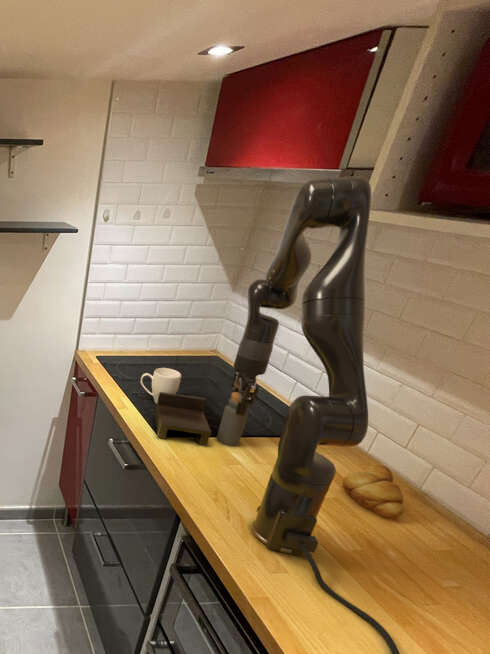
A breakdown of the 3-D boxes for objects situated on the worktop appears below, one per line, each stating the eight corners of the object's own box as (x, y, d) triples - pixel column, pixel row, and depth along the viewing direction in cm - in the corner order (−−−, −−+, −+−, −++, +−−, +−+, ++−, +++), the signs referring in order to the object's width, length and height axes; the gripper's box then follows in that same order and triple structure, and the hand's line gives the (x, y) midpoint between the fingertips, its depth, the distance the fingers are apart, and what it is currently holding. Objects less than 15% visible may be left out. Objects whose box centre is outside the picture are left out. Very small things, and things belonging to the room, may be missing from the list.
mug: (173, 400, 155) (180, 369, 150) (175, 410, 148) (182, 379, 143) (137, 394, 159) (142, 364, 154) (136, 403, 152) (142, 373, 147)
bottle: (242, 447, 127) (256, 401, 122) (220, 445, 129) (233, 398, 123) (234, 437, 133) (248, 391, 127) (213, 434, 134) (226, 389, 128)
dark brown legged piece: (207, 447, 127) (215, 419, 124) (158, 439, 131) (164, 412, 127) (198, 424, 139) (205, 398, 136) (153, 417, 143) (159, 391, 139)
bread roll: (411, 525, 99) (427, 496, 96) (361, 518, 101) (375, 489, 98) (375, 489, 111) (388, 462, 108) (331, 483, 113) (342, 456, 110)
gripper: (231, 344, 127) (216, 396, 134) (245, 362, 115) (228, 419, 121) (261, 347, 125) (244, 400, 132) (278, 365, 113) (259, 423, 119)
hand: (237, 409), depth 127 cm, fingers closed on bottle, 5 cm apart
